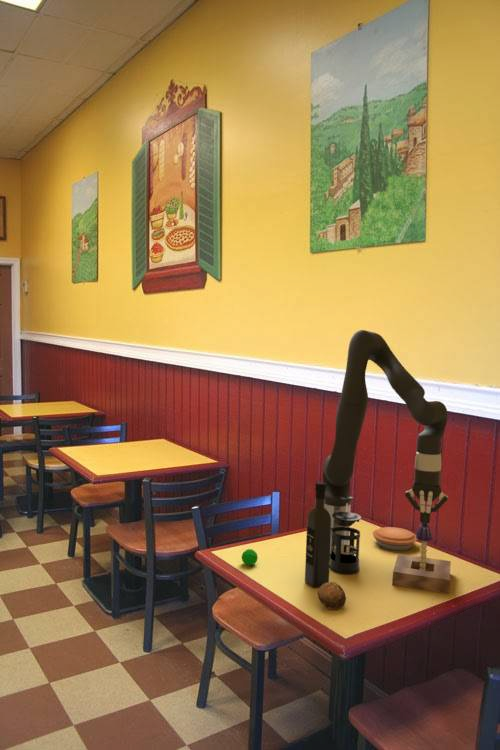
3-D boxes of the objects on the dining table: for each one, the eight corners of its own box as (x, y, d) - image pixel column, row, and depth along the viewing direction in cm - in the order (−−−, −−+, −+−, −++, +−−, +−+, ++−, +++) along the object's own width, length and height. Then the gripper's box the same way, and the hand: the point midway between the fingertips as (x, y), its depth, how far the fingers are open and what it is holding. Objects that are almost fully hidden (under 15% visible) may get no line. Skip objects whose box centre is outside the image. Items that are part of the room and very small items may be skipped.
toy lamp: (430, 583, 183) (433, 528, 182) (414, 581, 184) (417, 526, 183) (428, 576, 188) (431, 523, 187) (413, 575, 189) (416, 522, 188)
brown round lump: (313, 586, 170) (323, 573, 167) (338, 596, 171) (349, 583, 168) (311, 610, 164) (322, 597, 160) (338, 621, 165) (349, 608, 161)
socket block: (392, 584, 181) (392, 571, 181) (397, 565, 196) (398, 553, 196) (449, 593, 176) (449, 580, 176) (450, 573, 191) (450, 561, 191)
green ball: (239, 562, 195) (240, 547, 195) (254, 561, 196) (254, 546, 196) (244, 568, 190) (244, 553, 190) (259, 566, 192) (259, 552, 191)
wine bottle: (313, 588, 176) (318, 486, 174) (303, 581, 181) (307, 481, 179) (330, 585, 179) (334, 484, 177) (319, 578, 184) (323, 480, 182)
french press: (366, 568, 193) (369, 496, 191) (352, 577, 185) (355, 502, 184) (333, 559, 200) (336, 490, 198) (318, 567, 193) (321, 495, 191)
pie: (364, 546, 214) (365, 532, 214) (382, 535, 227) (382, 521, 226) (407, 556, 205) (408, 542, 205) (423, 544, 218) (423, 530, 218)
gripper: (404, 467, 182) (401, 524, 183) (450, 472, 178) (447, 530, 179) (406, 463, 189) (403, 518, 190) (451, 467, 185) (448, 523, 186)
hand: (424, 524), depth 185 cm, fingers closed
